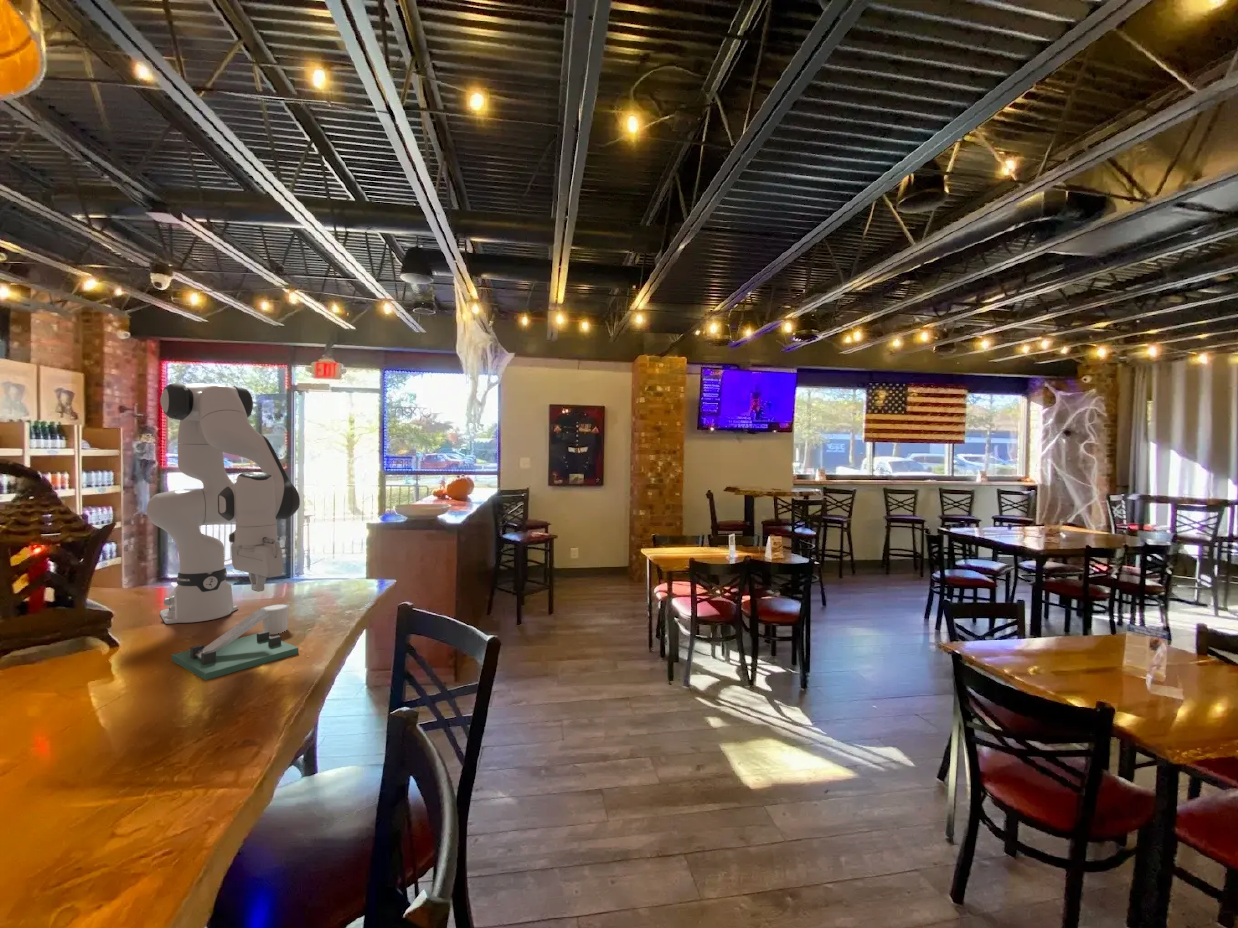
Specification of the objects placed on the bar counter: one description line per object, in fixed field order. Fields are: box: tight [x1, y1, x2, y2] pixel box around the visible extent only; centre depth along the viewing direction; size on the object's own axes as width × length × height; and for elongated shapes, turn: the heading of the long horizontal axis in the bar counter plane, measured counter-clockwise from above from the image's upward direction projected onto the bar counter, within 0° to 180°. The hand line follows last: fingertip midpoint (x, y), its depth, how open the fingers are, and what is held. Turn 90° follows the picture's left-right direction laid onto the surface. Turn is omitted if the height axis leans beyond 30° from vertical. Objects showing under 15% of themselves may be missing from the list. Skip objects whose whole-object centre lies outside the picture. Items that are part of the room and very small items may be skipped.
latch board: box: [171, 630, 299, 681], centre depth 139 cm, size 20×20×4 cm
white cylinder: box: [261, 603, 290, 636], centre depth 159 cm, size 7×7×7 cm
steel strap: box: [195, 607, 270, 659], centre depth 139 cm, size 4×16×2 cm, turn 146°
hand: (258, 590), depth 143 cm, fingers closed
